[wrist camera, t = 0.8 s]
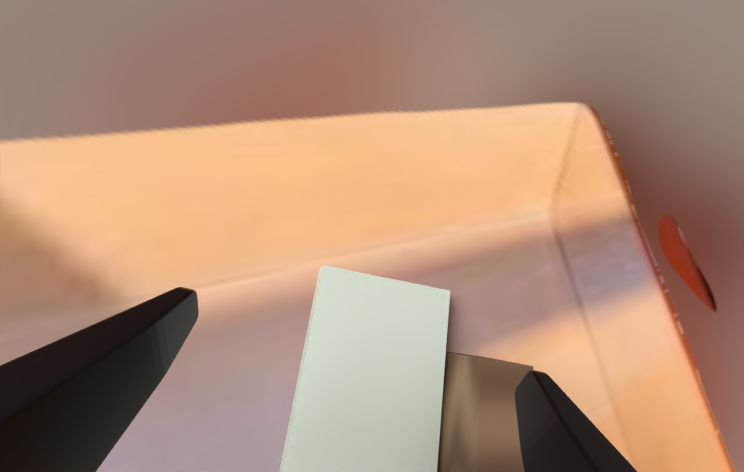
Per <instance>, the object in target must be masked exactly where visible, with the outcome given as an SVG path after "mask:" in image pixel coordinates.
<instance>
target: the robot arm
mask: <svg viewBox="0 0 744 472" xmlns="http://www.w3.org/2000/svg"><path fill="white" fill-rule="evenodd" d="M197 318H198V300H197V293H196V291H195V290H192V289H188V288H184V287H178V288H175V289H173V290H170V291H168V292H166V293H164V294H161V295H159V296H157V297H155V298H152V299H150V300H148V301H146V302H143V303H141V304H139V305H136V306H134V307H132V308H130V309H127V310H125V311H123V312H121V313H118V314H116V315H114V316H112V317H109V318H107V319H105V320H103V321H100V322H98V323H96V324H93V325H91V326H89V327H87V328H84V329H82V330H80V331H78V332H75V333H73V334H71V335H69V336H66V337H64V338H62V339H59V340H57V341H55V342H53V343H50V344H48V345H46V346H44V347H41V348H39V349H37V350H35V351H32V352H30V353H28V354H25V355H23V356H21V357H19V358H16V359H14V360H12V361H10V362H7V363H5V364H3V365H1V366H0V472H96V471H97V469H98V468H99V466H100V465H101V464H102V462H103V461H104V460H105V458H106V457H107V455H108V454H109V453H110V451H111V450H112V448H113V447H114V446H115V444H116V443H117V441H118V440H119V439H120V437H121V436H122V435H123V433H124V432H125V430H126V429H127V428H128V426H129V425H130V423H131V422H132V421H133V419H134V418H135V416H136V415H137V414H138V412H139V411H140V409H141V408H142V407H143V405H144V404H145V403H146V401H147V400H148V398H149V397H150V396H151V394H152V393H153V391H154V390H155V389H156V387H157V386H158V384H159V383H160V382H161V380H162V379H163V377H164V376H165V374H166V373H167V371H168V369H169V368H170V366H171V364H172V362H173V361H174V359H175V357H176V356H177V354H178V352H179V350H180V349H181V347H182V345H183V343H184V342H185V340H186V338H187V336H188V335H189V333H190V331H191V330H192V328H193V326H194V324H195V323H196V321H197ZM514 398H515V407H516V415H517V424H518V433H519V442H520V450H521V457H522V462H523V467H524V472H637V471H636V470H635V469H634V468H633V467H632V466H631V464H630V463H629V462H628V461H627V460H626V459H625V458H624V457H623V456H622V455H621V454H620V453H619V451H618V450H617V449H616V448H615V447H614V446H613V445H612V444H611V443H610V442H609V441H608V439H607V438H606V437H605V436H604V435H603V434H602V433H601V432H600V431H599V430H598V429H597V428H596V426H595V425H594V424H593V423H592V422H591V421H590V420H589V419H588V418H587V417H586V416H585V415H584V413H583V412H582V411H581V410H580V409H579V408H578V407H577V406H576V405H575V404H574V403H573V402H572V400H571V399H570V398H569V397H568V396H567V395H566V394H565V393H564V392H563V391H562V390H561V389H560V387H559V386H558V385H557V384H556V383H555V382H554V381H553V380H552V379H551V378H550V377H549V376H548V375H547V374H546V373H543V372H539V371H535V370H530V371H528V372H527V373H526V374H525V376H524V377H523V378H522V380H521V381H520V383H519V384H518V385H517V387H516V389H515V394H514Z"/></svg>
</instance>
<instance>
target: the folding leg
mask: <svg viewBox="0 0 744 472" xmlns="http://www.w3.org/2000/svg"><path fill="white" fill-rule="evenodd" d="M530 370H533V366H528V365H523V364H517V363H512V362H507V361H502V360H496V359H491V358H486V357H479V356H472V355H465V354H459V353H452V352H446V356H445V369H444V383H443V397H442V410H441V424H440V437H439V451H438V464H437V472H524V467H523V462H522V457H521V450H520V442H519V433H518V424H517V415H516V407H515V398H514V394H515V389H516V387H517V385H518V384H519V383H520V381H521V380H522V378H523V377H524V376H525V374H526V373H527V372H528V371H530Z"/></svg>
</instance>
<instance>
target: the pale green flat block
mask: <svg viewBox="0 0 744 472" xmlns="http://www.w3.org/2000/svg"><path fill="white" fill-rule="evenodd" d="M449 302H450V291H449V290H444V289H439V288H434V287H429V286H424V285H419V284H414V283H409V282H404V281H399V280H394V279H389V278H384V277H379V276H374V275H369V274H364V273H359V272H354V271H349V270H344V269H339V268H334V267H329V266H324V265H323V266H322V267H321V268H320V269H319V273H318V279H317V284H316V289H315V294H314V299H313V304H312V309H311V314H310V319H309V324H308V329H307V334H306V339H305V344H304V349H303V354H302V359H301V364H300V369H299V374H298V380H297V385H296V390H295V395H294V400H293V405H292V410H291V415H290V420H289V425H288V430H287V435H286V440H285V445H284V450H283V455H282V460H281V465H280V470H279V472H437V464H438V451H439V437H440V424H441V410H442V397H443V383H444V369H445V356H446V342H447V329H448V315H449Z"/></svg>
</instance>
